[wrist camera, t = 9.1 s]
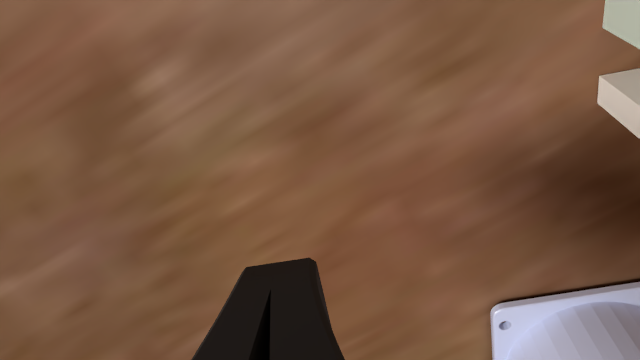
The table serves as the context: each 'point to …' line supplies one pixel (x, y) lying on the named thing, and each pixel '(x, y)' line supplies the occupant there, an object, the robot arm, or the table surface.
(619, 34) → the block
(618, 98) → the housing bay
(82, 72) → the table surface
